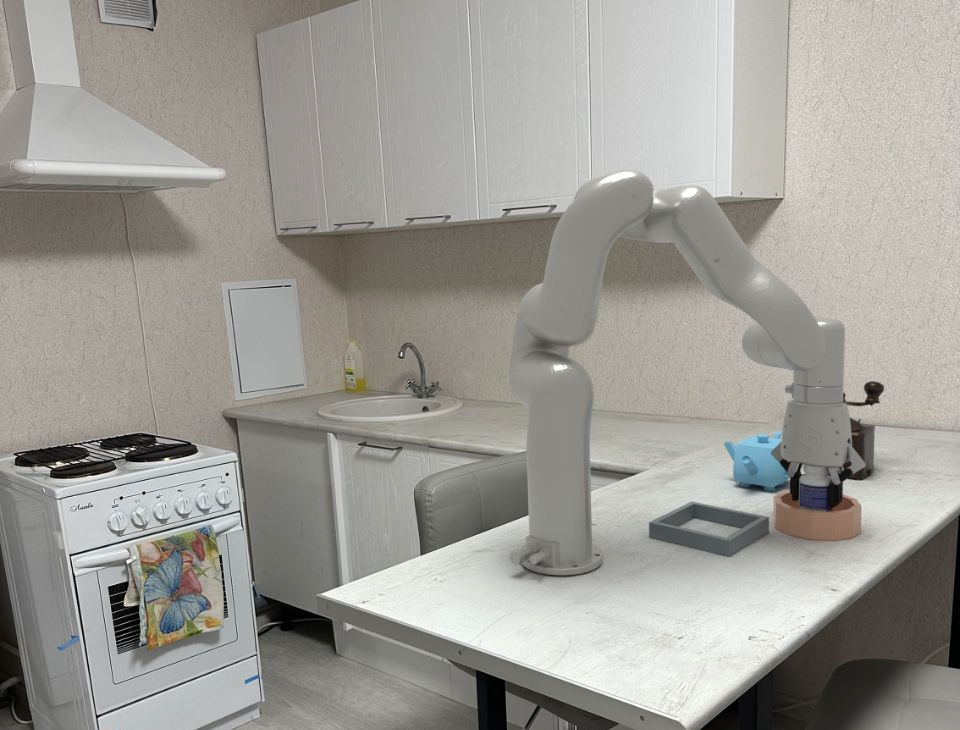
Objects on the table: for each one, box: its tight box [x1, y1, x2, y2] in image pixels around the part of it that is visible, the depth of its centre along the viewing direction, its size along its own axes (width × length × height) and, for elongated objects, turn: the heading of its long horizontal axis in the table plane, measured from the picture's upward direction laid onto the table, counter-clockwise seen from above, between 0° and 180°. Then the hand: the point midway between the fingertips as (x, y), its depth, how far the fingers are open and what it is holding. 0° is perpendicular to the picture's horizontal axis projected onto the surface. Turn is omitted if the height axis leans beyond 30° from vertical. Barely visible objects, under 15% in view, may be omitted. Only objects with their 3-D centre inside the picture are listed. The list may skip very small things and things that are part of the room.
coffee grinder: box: [828, 380, 885, 481], centre depth 164 cm, size 16×11×18 cm
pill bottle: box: [799, 464, 833, 512], centre depth 131 cm, size 5×5×9 cm
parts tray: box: [648, 501, 770, 558], centre depth 130 cm, size 14×14×2 cm
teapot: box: [723, 430, 790, 492], centre depth 156 cm, size 18×14×10 cm
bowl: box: [772, 490, 862, 542], centre depth 131 cm, size 13×13×4 cm
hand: (815, 501), depth 131 cm, fingers closed on pill bottle, 5 cm apart
